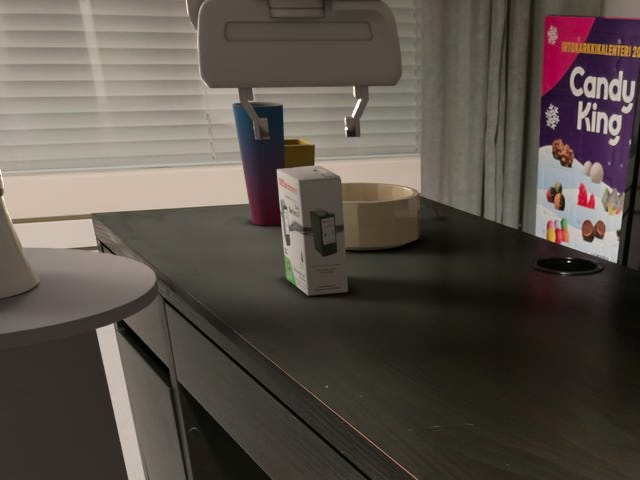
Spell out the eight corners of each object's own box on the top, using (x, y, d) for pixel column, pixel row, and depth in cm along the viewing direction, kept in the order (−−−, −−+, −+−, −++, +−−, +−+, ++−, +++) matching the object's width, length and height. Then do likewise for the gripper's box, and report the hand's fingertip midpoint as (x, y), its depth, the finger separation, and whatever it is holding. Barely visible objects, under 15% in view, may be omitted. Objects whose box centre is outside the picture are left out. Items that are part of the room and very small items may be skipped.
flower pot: (252, 202, 147) (245, 139, 142) (306, 199, 150) (300, 137, 145) (265, 212, 141) (258, 146, 135) (320, 209, 144) (315, 144, 138)
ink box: (284, 279, 107) (273, 166, 100) (325, 275, 109) (316, 164, 102) (307, 297, 101) (297, 177, 94) (350, 292, 103) (343, 175, 96)
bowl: (308, 254, 118) (304, 203, 114) (301, 230, 130) (297, 183, 127) (428, 250, 121) (427, 201, 117) (410, 227, 133) (408, 181, 130)
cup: (238, 225, 132) (224, 105, 124) (256, 216, 138) (243, 101, 129) (283, 227, 131) (272, 107, 123) (299, 219, 137) (289, 103, 128)
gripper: (180, -27, 84) (205, 144, 92) (401, -25, 88) (407, 139, 96) (183, -26, 89) (206, 136, 97) (392, -24, 93) (398, 132, 101)
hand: (308, 137), depth 96 cm, fingers open, 8 cm apart
